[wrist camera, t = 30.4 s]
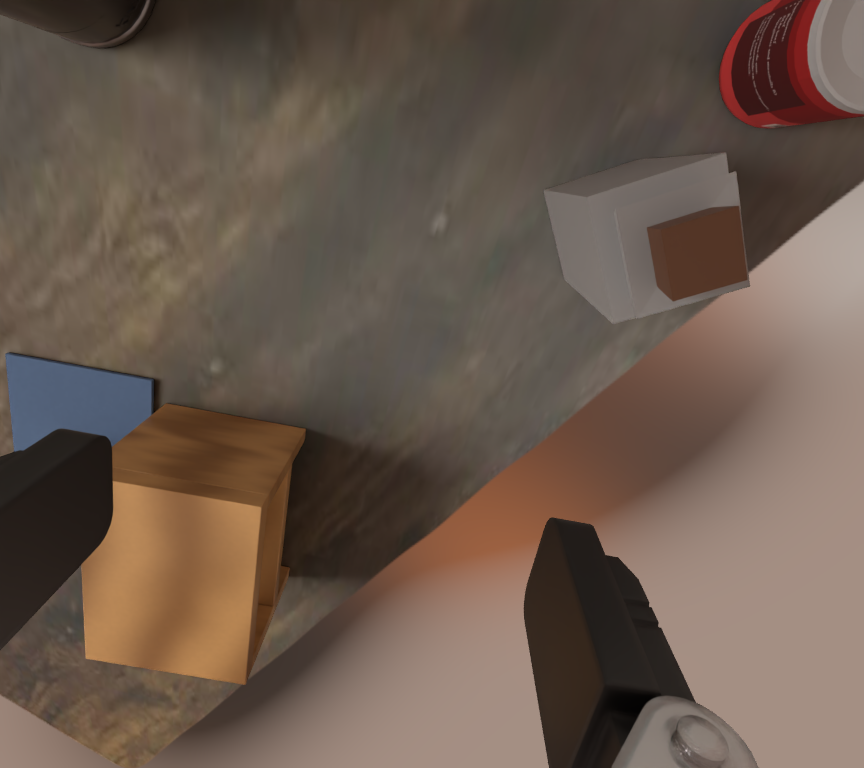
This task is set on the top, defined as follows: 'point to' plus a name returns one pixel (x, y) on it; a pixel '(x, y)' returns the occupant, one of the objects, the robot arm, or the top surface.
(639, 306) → the perfume bottle
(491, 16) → the top surface
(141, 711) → the top surface
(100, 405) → the mat
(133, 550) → the wooden shelf box
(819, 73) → the canned food
